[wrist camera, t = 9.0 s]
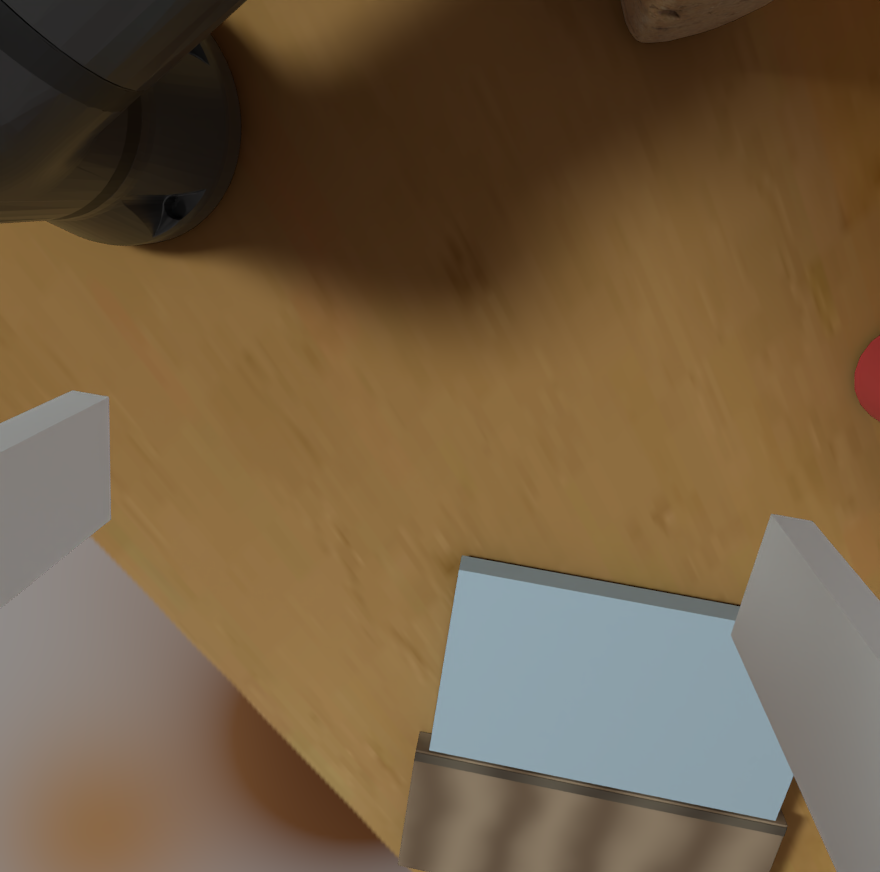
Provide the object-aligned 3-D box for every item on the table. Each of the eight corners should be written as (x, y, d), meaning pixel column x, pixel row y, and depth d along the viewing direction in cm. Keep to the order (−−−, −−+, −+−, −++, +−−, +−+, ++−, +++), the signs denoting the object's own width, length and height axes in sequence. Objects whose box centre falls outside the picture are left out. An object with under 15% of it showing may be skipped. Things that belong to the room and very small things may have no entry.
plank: (432, 731, 57) (429, 750, 55) (461, 555, 51) (459, 569, 49) (767, 799, 55) (775, 820, 53) (835, 623, 49) (847, 641, 48)
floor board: (402, 844, 61) (397, 865, 59) (419, 731, 57) (415, 750, 55) (736, 916, 59) (743, 940, 57) (778, 804, 55) (787, 826, 53)
